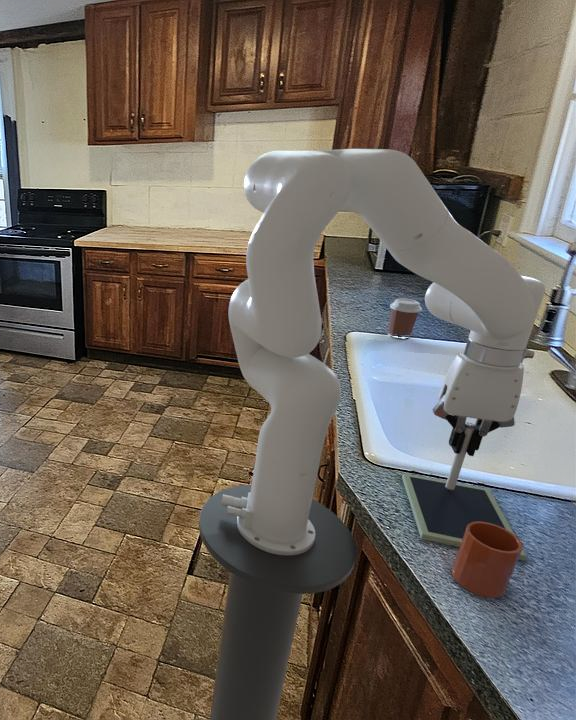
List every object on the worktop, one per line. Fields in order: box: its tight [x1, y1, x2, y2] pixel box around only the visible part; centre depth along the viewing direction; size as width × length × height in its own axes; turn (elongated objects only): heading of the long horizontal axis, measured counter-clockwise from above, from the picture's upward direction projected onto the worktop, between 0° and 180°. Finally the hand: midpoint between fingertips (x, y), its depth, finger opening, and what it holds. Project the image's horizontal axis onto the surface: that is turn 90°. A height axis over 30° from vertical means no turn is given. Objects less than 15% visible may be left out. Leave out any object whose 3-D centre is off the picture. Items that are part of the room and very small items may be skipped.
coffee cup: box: [387, 298, 423, 337], centre depth 172 cm, size 9×9×12 cm
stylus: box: [445, 422, 475, 490], centre depth 92 cm, size 1×1×13 cm
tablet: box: [401, 472, 528, 562], centre depth 90 cm, size 14×18×1 cm
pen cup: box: [451, 521, 524, 599], centre depth 75 cm, size 6×6×8 cm
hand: (461, 450), depth 92 cm, fingers closed on stylus, 1 cm apart
